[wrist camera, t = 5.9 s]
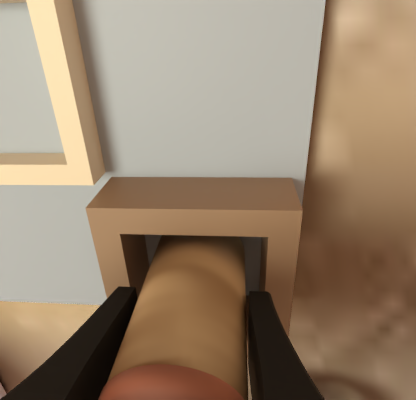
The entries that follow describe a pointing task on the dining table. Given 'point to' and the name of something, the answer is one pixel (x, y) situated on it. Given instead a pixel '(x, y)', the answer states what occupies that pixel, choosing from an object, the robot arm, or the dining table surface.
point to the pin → (186, 325)
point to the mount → (151, 139)
